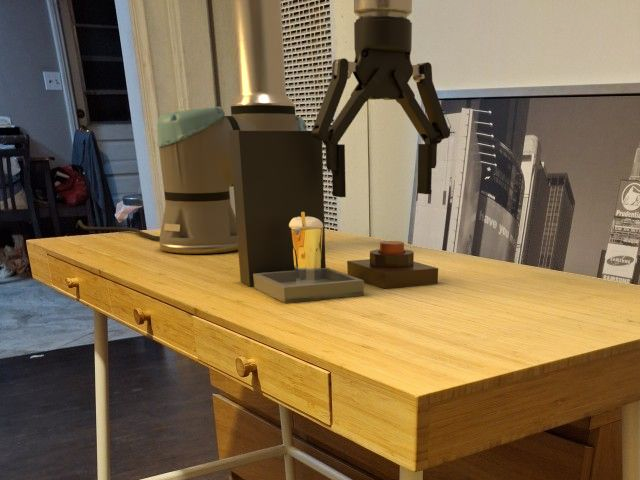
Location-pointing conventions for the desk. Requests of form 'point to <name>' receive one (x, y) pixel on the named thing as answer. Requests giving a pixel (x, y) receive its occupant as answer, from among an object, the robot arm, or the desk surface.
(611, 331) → the desk surface
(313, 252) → the milkshake
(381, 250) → the brew button
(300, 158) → the coffee maker
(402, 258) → the panel
